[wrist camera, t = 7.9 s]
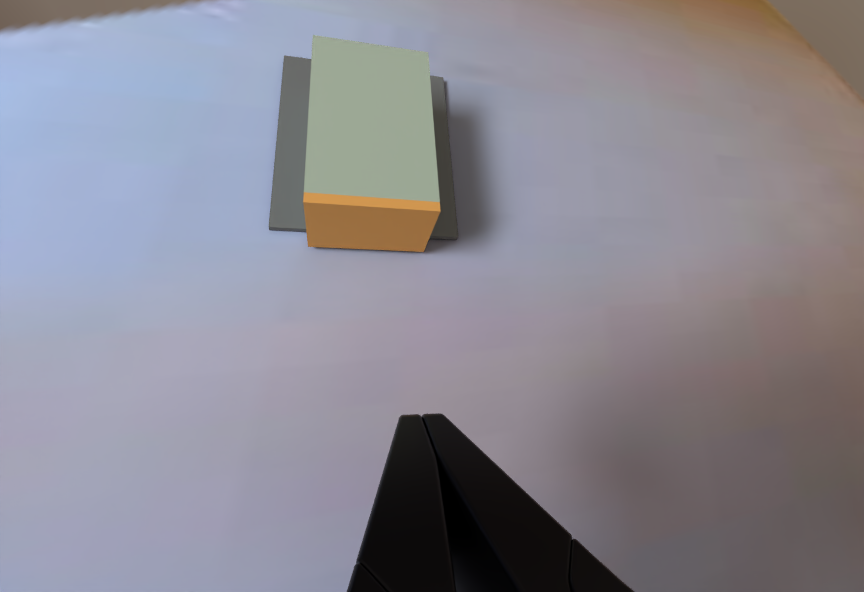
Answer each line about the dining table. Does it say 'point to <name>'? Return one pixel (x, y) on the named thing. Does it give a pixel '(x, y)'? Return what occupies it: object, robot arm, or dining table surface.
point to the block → (370, 148)
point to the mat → (294, 141)
